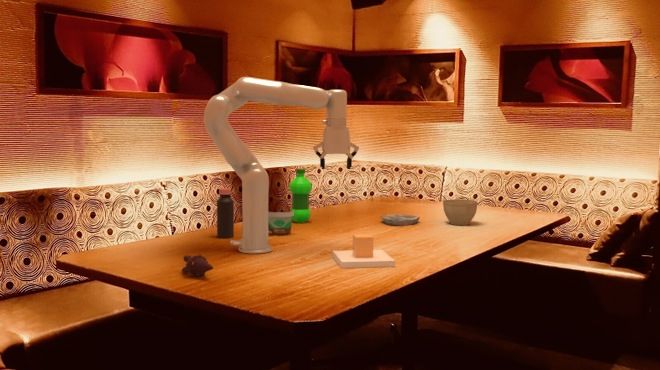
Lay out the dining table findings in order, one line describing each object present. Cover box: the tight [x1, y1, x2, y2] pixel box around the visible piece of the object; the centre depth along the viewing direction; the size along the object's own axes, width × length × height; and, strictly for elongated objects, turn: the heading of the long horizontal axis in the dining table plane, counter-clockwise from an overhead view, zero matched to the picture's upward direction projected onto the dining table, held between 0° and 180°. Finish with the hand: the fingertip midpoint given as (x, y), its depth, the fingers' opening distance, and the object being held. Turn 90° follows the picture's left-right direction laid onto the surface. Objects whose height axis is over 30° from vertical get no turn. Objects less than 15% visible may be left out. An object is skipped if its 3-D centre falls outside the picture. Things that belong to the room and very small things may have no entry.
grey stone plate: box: [380, 214, 421, 227], centre depth 303 cm, size 20×17×3 cm
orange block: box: [352, 233, 374, 258], centre depth 221 cm, size 6×6×7 cm
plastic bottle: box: [289, 168, 313, 224], centre depth 301 cm, size 10×10×25 cm
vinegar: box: [216, 187, 235, 239], centre depth 262 cm, size 7×7×20 cm
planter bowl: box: [442, 198, 479, 226], centre depth 301 cm, size 16×16×11 cm
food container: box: [268, 210, 294, 237], centre depth 269 cm, size 12×6×10 cm, turn 105°
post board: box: [332, 249, 396, 269], centre depth 222 cm, size 18×18×6 cm
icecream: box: [181, 254, 214, 278], centre depth 199 cm, size 7×7×15 cm
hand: (335, 169), depth 239 cm, fingers open, 9 cm apart
